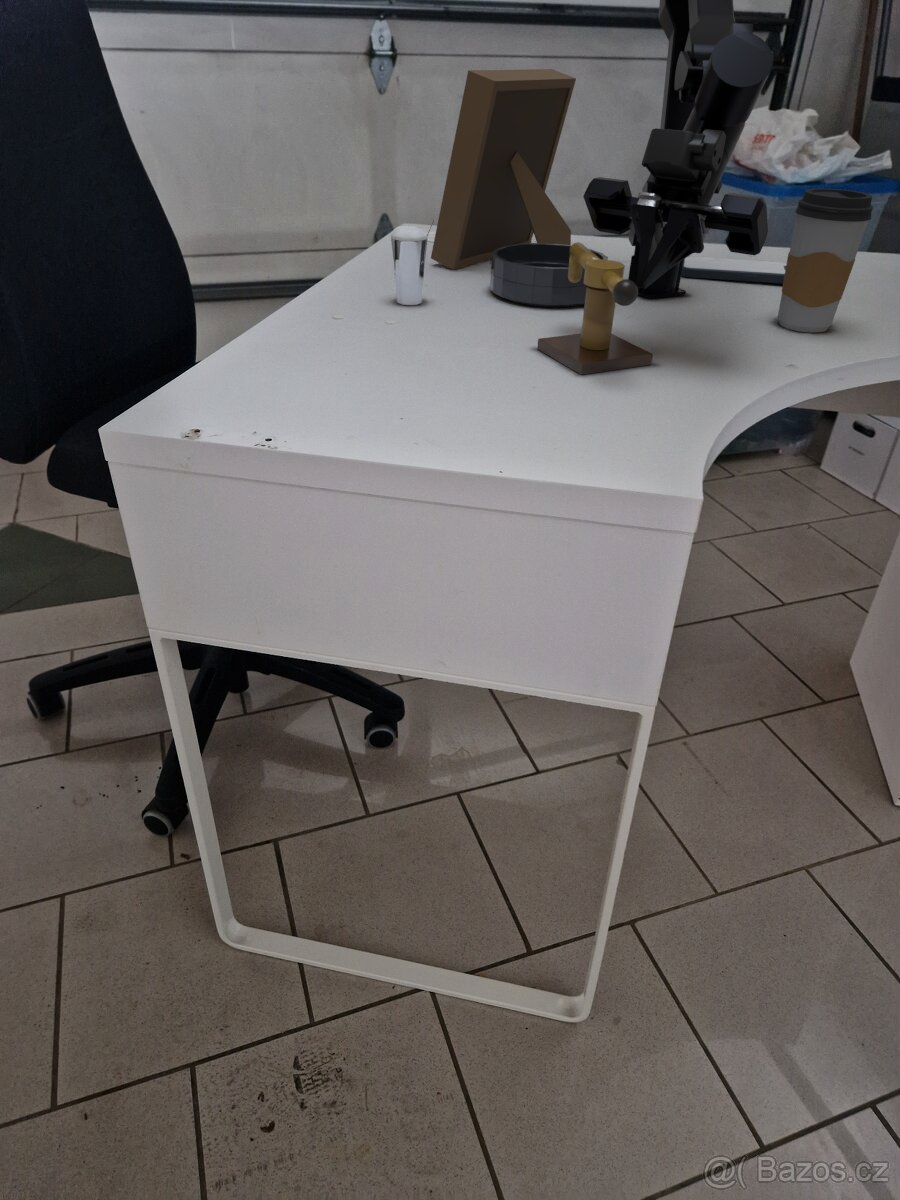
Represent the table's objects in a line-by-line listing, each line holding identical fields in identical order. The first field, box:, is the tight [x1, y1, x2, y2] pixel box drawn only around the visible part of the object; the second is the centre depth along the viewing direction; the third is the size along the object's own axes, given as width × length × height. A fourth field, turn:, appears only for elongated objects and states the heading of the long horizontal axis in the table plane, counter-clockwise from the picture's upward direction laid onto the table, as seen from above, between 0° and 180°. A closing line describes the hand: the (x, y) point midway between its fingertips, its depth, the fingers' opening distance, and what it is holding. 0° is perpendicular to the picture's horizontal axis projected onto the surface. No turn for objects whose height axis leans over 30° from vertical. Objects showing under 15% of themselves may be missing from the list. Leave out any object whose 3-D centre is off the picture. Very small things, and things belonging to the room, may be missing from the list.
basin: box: [489, 242, 609, 308], centre depth 111 cm, size 15×15×5 cm
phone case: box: [681, 256, 787, 285], centre depth 124 cm, size 9×2×16 cm
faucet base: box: [536, 286, 654, 376], centre depth 89 cm, size 9×9×7 cm
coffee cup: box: [777, 188, 874, 334], centre depth 99 cm, size 8×8×15 cm
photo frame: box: [430, 68, 577, 271], centre depth 121 cm, size 15×22×25 cm
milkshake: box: [390, 219, 435, 306], centre depth 104 cm, size 5×5×10 cm
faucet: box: [568, 242, 639, 307], centre depth 88 cm, size 21×4×5 cm, turn 7°
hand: (640, 285), depth 85 cm, fingers closed
